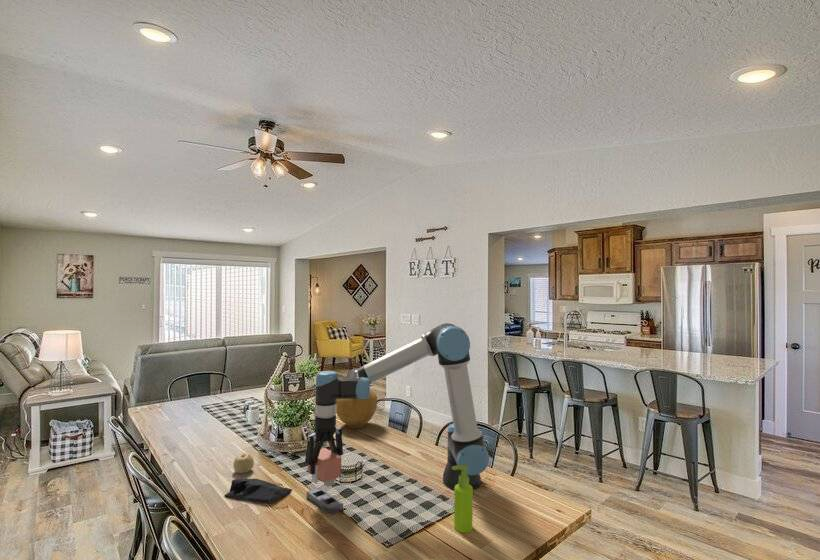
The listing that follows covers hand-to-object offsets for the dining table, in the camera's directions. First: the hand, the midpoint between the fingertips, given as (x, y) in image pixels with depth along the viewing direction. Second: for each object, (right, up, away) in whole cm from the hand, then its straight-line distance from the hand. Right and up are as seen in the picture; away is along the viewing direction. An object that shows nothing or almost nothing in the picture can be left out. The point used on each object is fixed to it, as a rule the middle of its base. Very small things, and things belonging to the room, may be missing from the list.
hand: (324, 479), depth 156 cm
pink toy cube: (0, -1, 0) cm, 1 cm away
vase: (+1, -9, +84) cm, 85 cm away
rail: (0, -9, 0) cm, 9 cm away
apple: (-39, -9, +25) cm, 47 cm away
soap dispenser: (+48, -9, -14) cm, 51 cm away
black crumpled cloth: (-26, -9, +7) cm, 28 cm away
